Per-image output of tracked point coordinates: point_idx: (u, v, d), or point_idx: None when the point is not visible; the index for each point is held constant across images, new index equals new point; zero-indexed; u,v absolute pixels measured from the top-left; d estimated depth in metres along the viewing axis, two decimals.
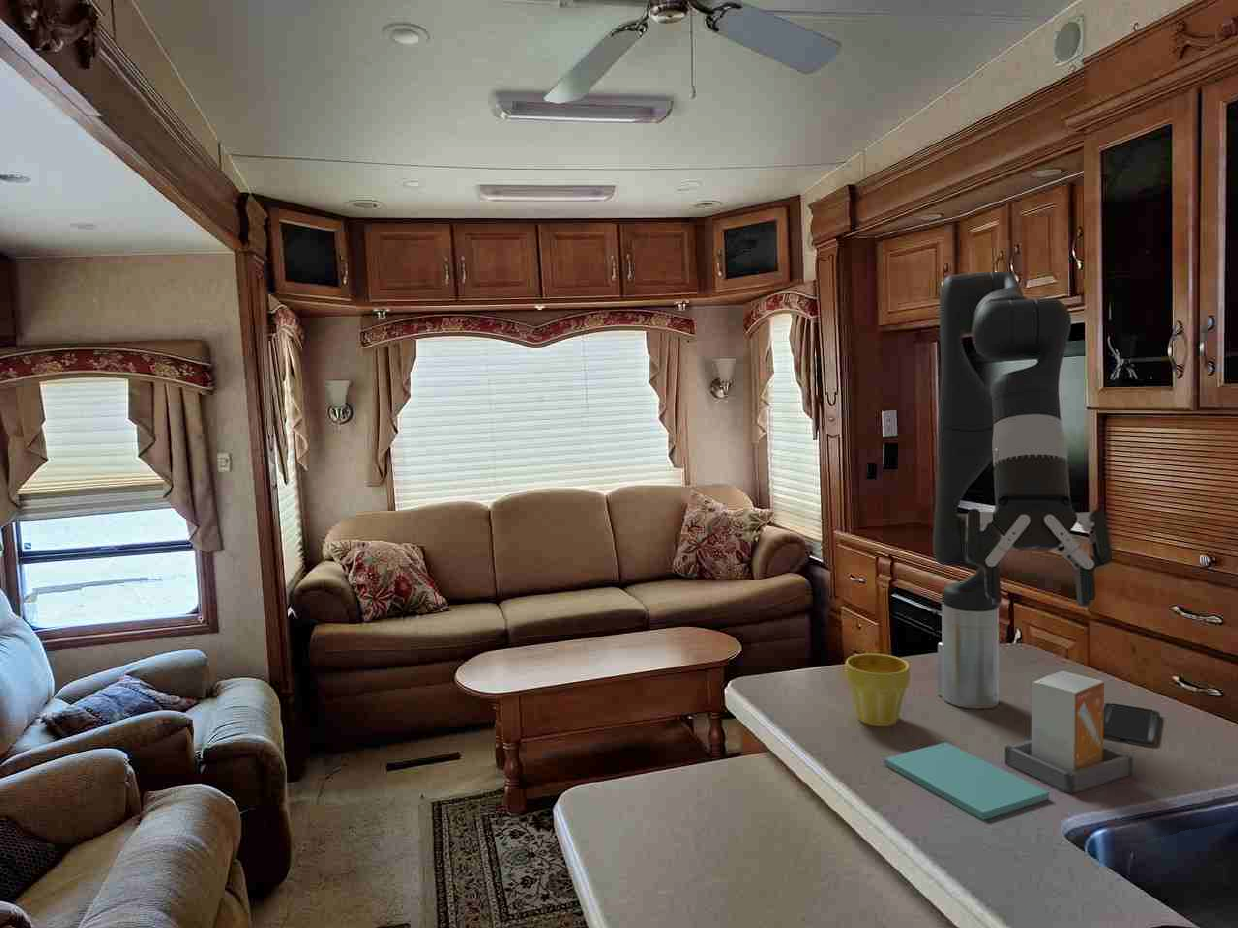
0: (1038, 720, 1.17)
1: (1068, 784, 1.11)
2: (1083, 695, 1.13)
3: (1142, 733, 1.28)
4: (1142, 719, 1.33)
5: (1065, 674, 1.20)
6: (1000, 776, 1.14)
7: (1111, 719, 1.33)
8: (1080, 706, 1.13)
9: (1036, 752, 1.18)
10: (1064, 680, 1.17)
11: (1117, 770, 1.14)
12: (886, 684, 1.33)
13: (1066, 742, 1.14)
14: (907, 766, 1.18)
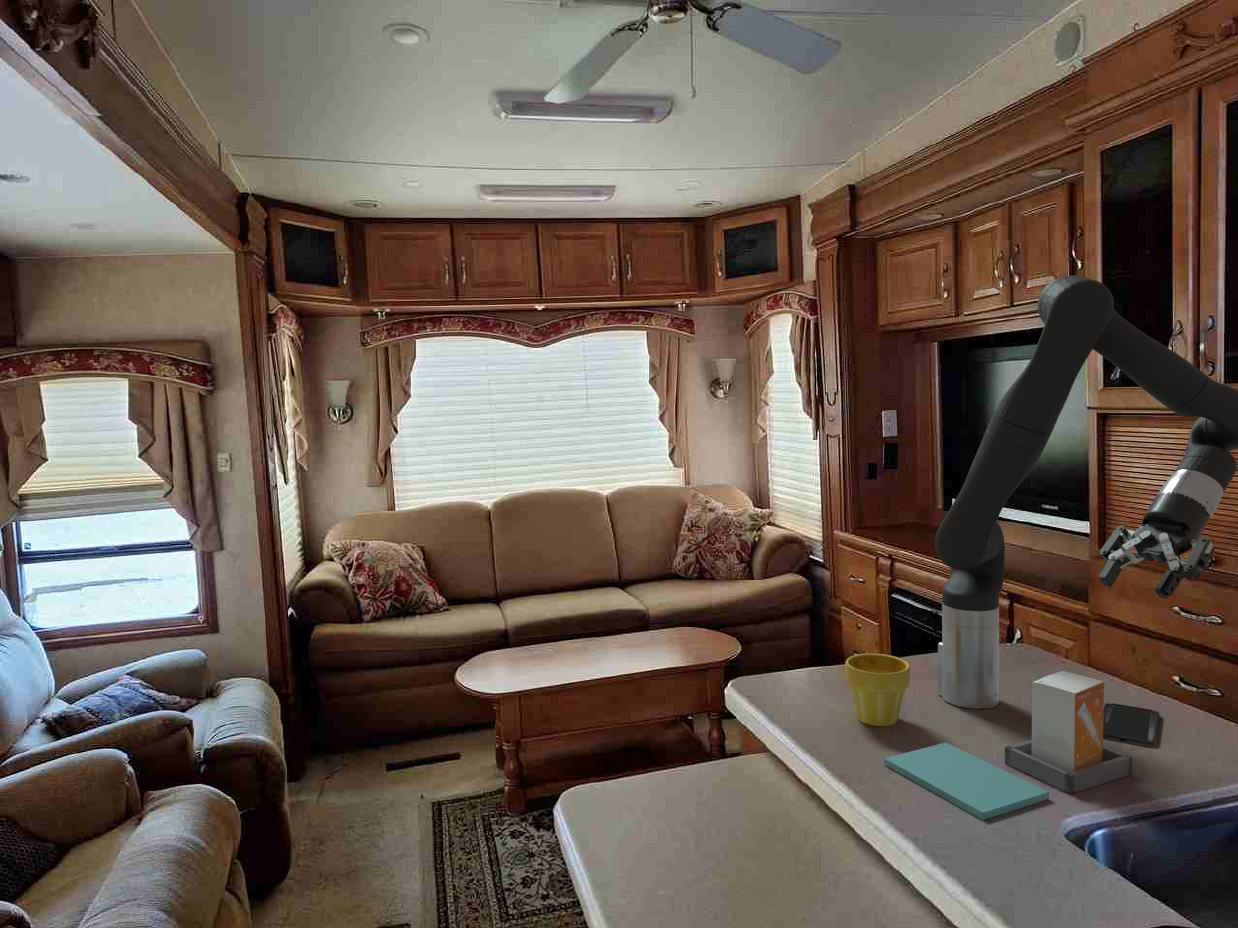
0: (1038, 720, 1.17)
1: (1068, 784, 1.11)
2: (1083, 695, 1.13)
3: (1142, 733, 1.28)
4: (1142, 719, 1.33)
5: (1065, 674, 1.20)
6: (1000, 776, 1.14)
7: (1111, 719, 1.33)
8: (1080, 706, 1.13)
9: (1036, 752, 1.18)
10: (1064, 680, 1.17)
11: (1117, 770, 1.14)
12: (886, 684, 1.33)
13: (1066, 742, 1.14)
14: (907, 766, 1.18)
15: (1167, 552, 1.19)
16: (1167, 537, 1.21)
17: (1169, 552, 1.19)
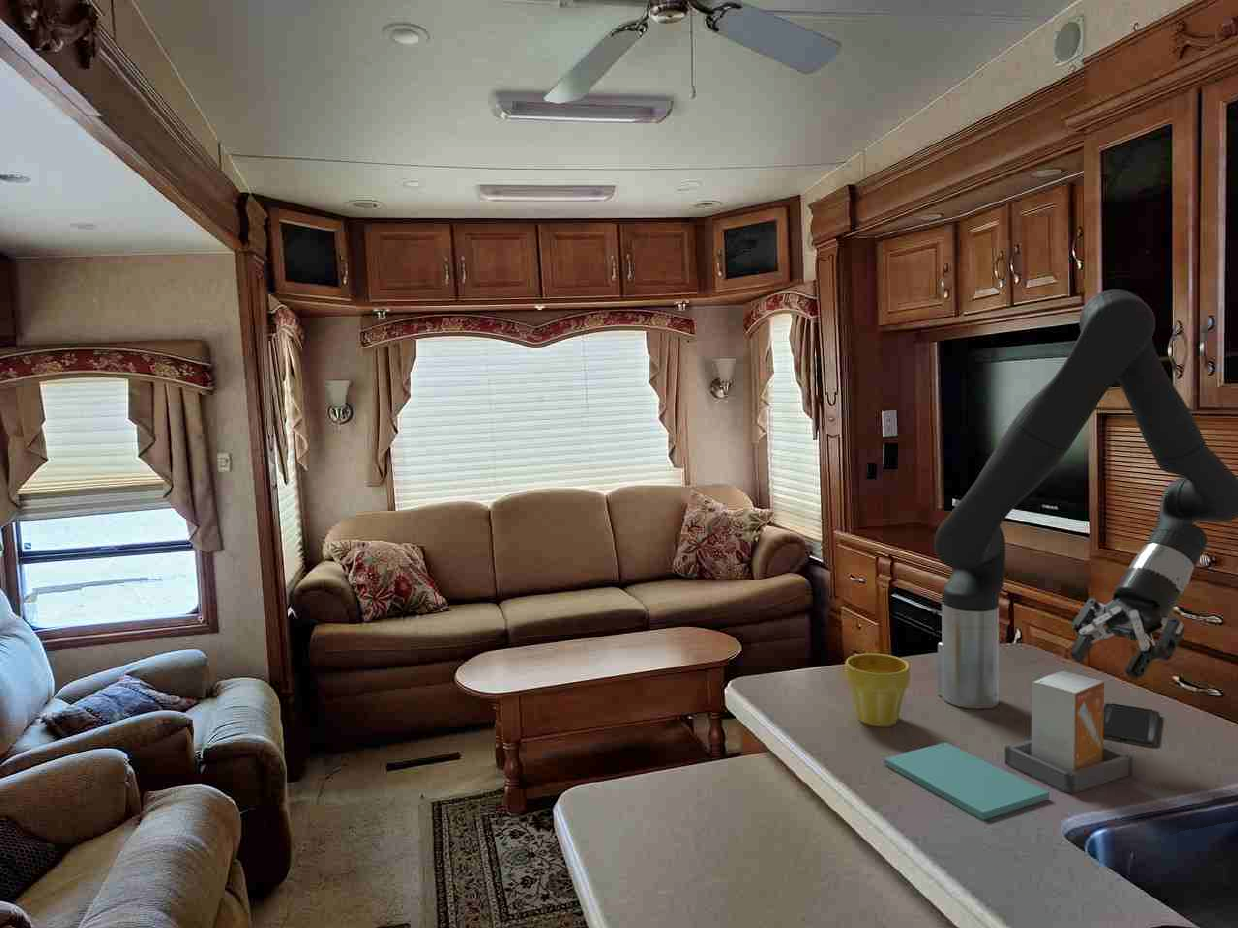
0: (1038, 720, 1.17)
1: (1068, 784, 1.11)
2: (1084, 695, 1.13)
3: (1142, 733, 1.28)
4: (1142, 719, 1.33)
5: (1065, 674, 1.20)
6: (1000, 776, 1.14)
7: (1111, 719, 1.33)
8: (1080, 706, 1.13)
9: (1036, 752, 1.18)
10: (1064, 680, 1.17)
11: (1117, 770, 1.14)
12: (886, 684, 1.33)
13: (1066, 742, 1.14)
14: (907, 766, 1.18)
15: (1138, 631, 1.18)
16: (1138, 615, 1.19)
17: (1139, 631, 1.18)
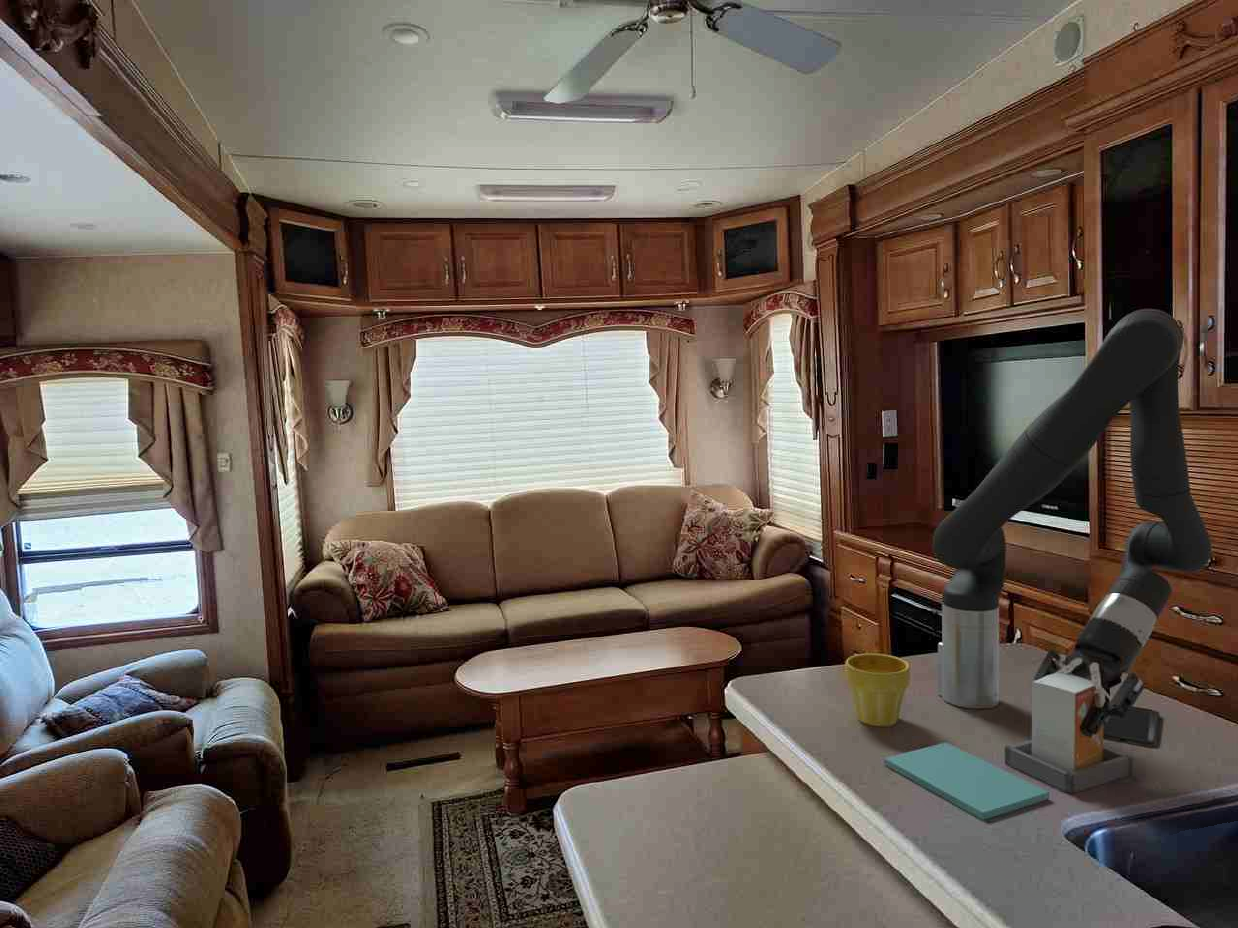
0: (1038, 720, 1.17)
1: (1068, 784, 1.11)
2: (1084, 694, 1.13)
3: (1142, 733, 1.28)
4: (1142, 719, 1.33)
5: None
6: (1000, 776, 1.14)
7: (1111, 719, 1.33)
8: (1080, 705, 1.13)
9: (1036, 752, 1.18)
10: (1064, 680, 1.17)
11: (1117, 770, 1.14)
12: (886, 684, 1.33)
13: (1067, 742, 1.14)
14: (907, 766, 1.18)
15: (1095, 686, 1.15)
16: (1098, 668, 1.16)
17: (1097, 686, 1.15)
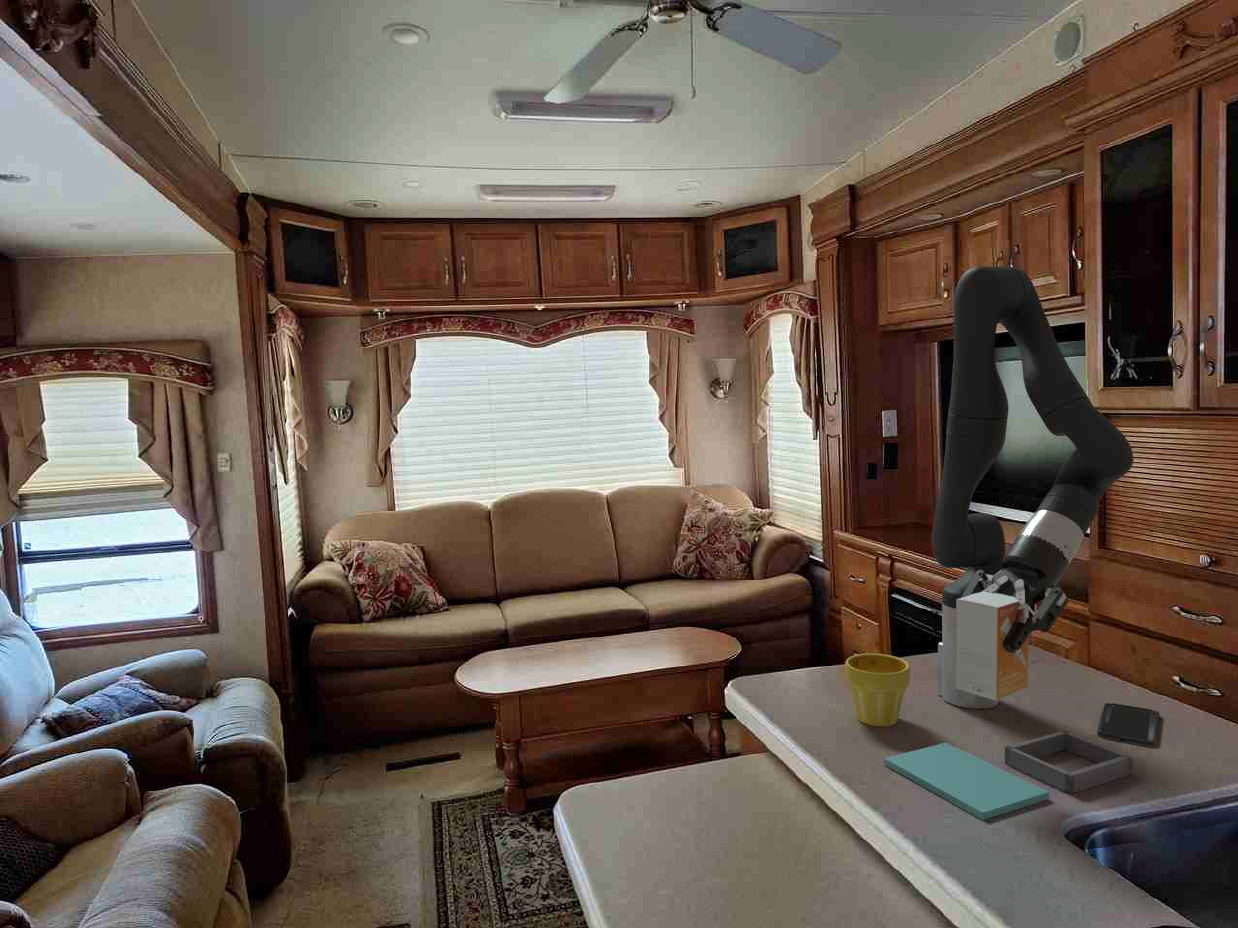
0: (962, 638, 1.14)
1: (1068, 784, 1.11)
2: (1007, 609, 1.10)
3: (1142, 733, 1.28)
4: (1142, 719, 1.33)
5: None
6: (1000, 776, 1.14)
7: (1111, 719, 1.33)
8: (1002, 621, 1.10)
9: (960, 671, 1.14)
10: (989, 597, 1.14)
11: (1117, 770, 1.14)
12: (886, 684, 1.33)
13: (989, 659, 1.10)
14: (907, 766, 1.18)
15: (1019, 602, 1.12)
16: (1022, 585, 1.13)
17: (1021, 602, 1.12)
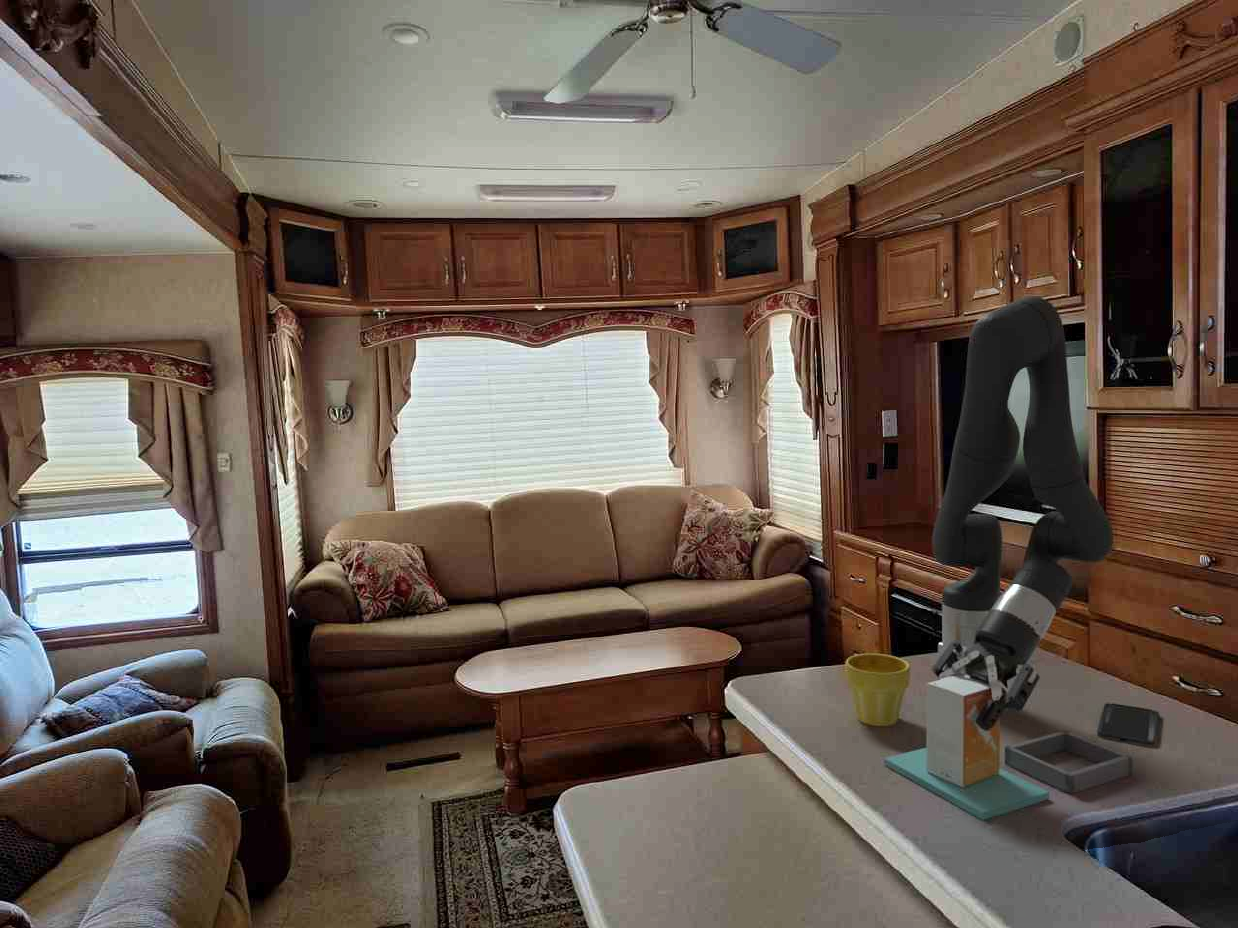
0: (932, 722, 1.15)
1: (1068, 784, 1.11)
2: (974, 697, 1.11)
3: (1142, 733, 1.28)
4: (1142, 719, 1.33)
5: (964, 676, 1.17)
6: (1000, 776, 1.14)
7: (1111, 719, 1.33)
8: (969, 708, 1.11)
9: (930, 755, 1.15)
10: (960, 682, 1.15)
11: (1117, 770, 1.14)
12: (886, 684, 1.33)
13: (956, 746, 1.11)
14: (907, 766, 1.18)
15: (992, 679, 1.12)
16: (993, 661, 1.13)
17: (993, 679, 1.12)
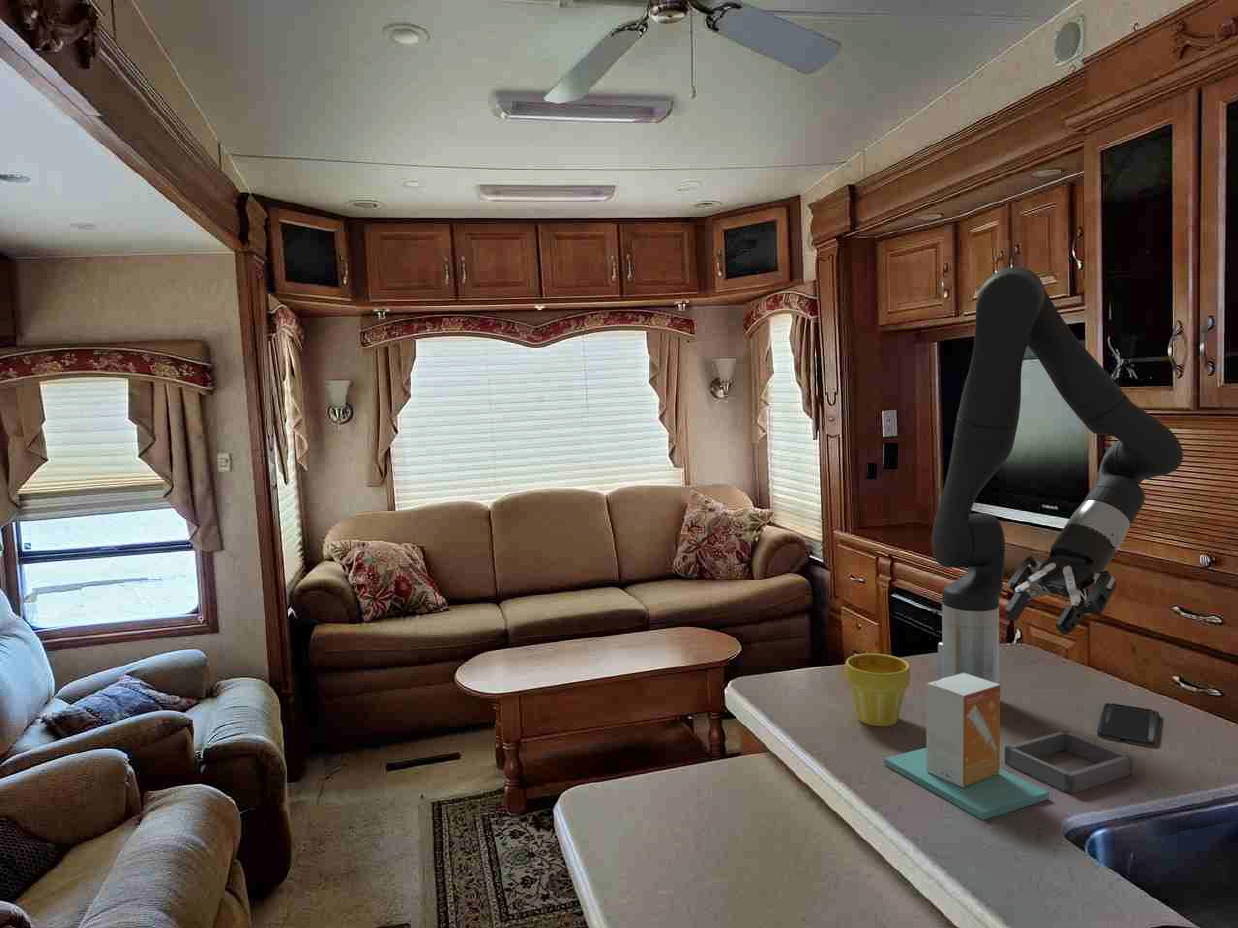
0: (932, 722, 1.15)
1: (1068, 784, 1.11)
2: (974, 697, 1.11)
3: (1142, 733, 1.28)
4: (1142, 719, 1.33)
5: (964, 676, 1.17)
6: (1000, 776, 1.14)
7: (1111, 719, 1.33)
8: (969, 708, 1.11)
9: (930, 755, 1.15)
10: (960, 682, 1.15)
11: (1117, 770, 1.14)
12: (886, 684, 1.33)
13: (956, 746, 1.11)
14: (907, 766, 1.18)
15: (1070, 586, 1.17)
16: (1071, 570, 1.18)
17: (1071, 586, 1.16)
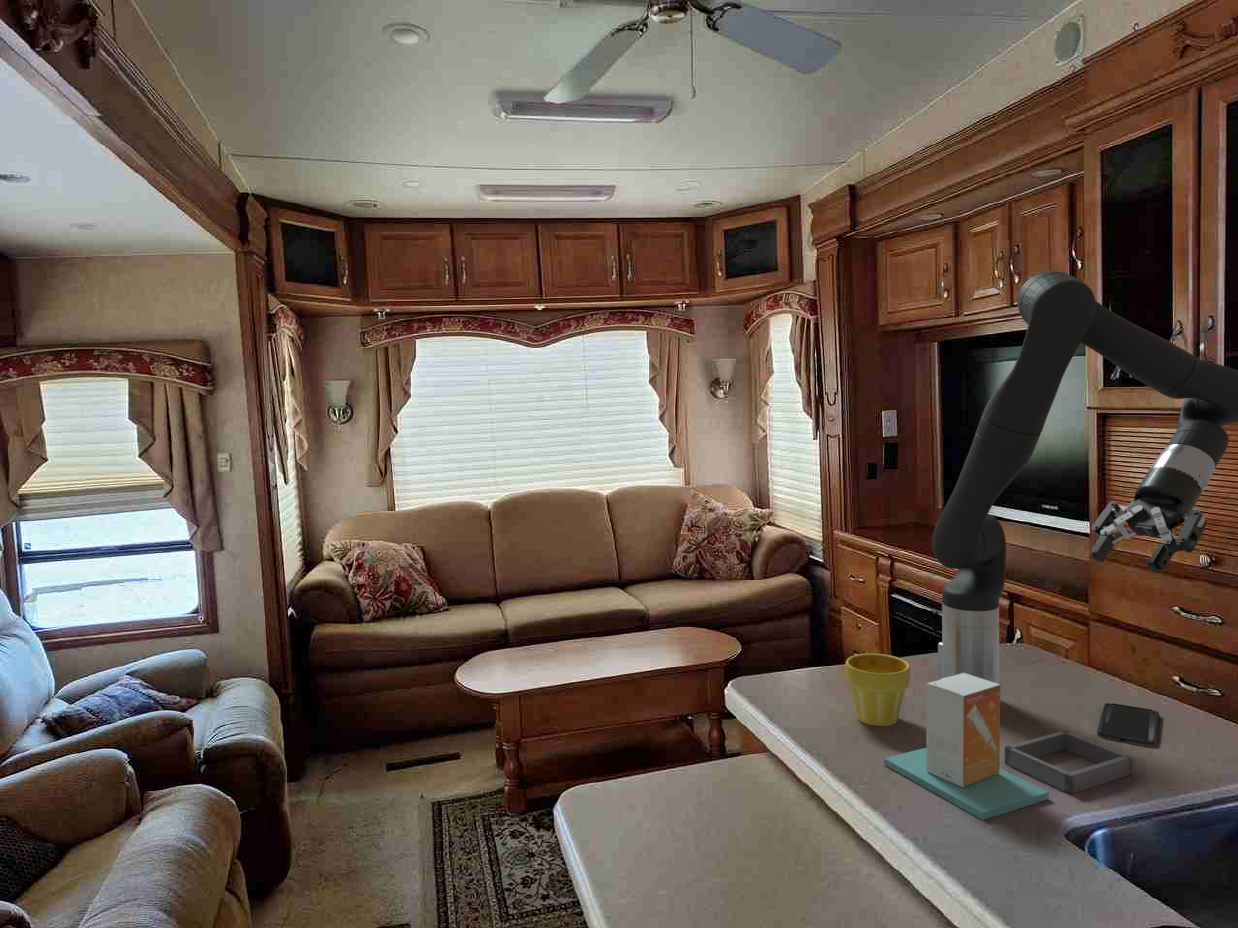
0: (932, 722, 1.15)
1: (1068, 784, 1.11)
2: (974, 697, 1.11)
3: (1142, 733, 1.28)
4: (1142, 719, 1.33)
5: (964, 676, 1.17)
6: (1000, 776, 1.14)
7: (1111, 719, 1.33)
8: (969, 708, 1.11)
9: (930, 755, 1.15)
10: (960, 682, 1.15)
11: (1117, 770, 1.14)
12: (886, 684, 1.33)
13: (956, 746, 1.11)
14: (907, 766, 1.18)
15: (1160, 526, 1.18)
16: (1159, 511, 1.20)
17: (1161, 526, 1.18)
